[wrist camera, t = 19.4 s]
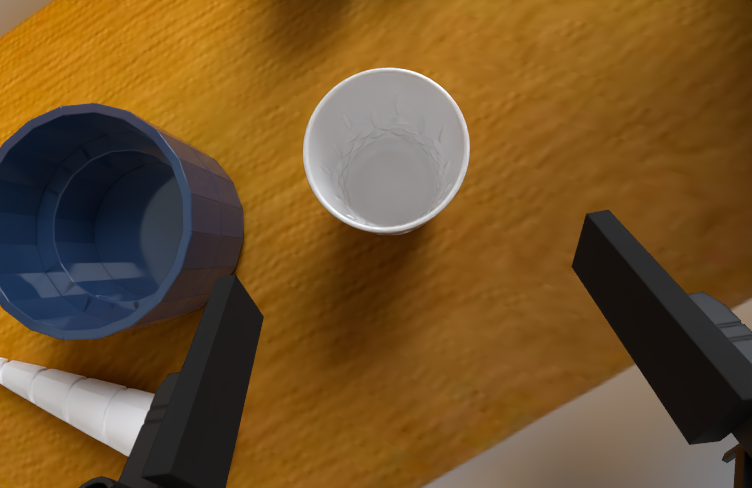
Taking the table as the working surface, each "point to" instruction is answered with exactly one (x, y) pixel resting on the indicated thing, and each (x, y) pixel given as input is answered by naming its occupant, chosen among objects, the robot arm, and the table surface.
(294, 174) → the table surface
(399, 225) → the white cup
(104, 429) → the unicorn horn
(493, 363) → the table surface
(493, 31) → the table surface
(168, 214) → the navy blue bowl
